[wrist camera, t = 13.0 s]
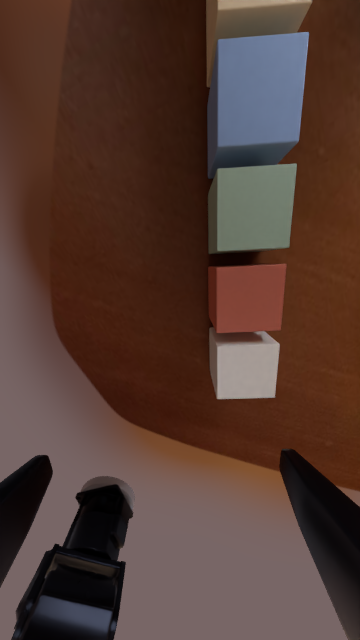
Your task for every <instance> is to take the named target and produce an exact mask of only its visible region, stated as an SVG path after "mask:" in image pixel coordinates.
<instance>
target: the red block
mask: <svg viewBox="0 0 360 640" xmlns="http://www.w3.org/2000/svg"><path fill="white" fill-rule="evenodd" d="M286 266H287V265H286V264H244V265H225V266H209V267H208V294H209V318H210V320H211V322H212V324H213V326H214V329H215V331H216V333H232V332H256V331H279V330H281V321H282V310H283V299H284V288H285V277H286Z"/></svg>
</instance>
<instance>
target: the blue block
mask: <svg viewBox="0 0 360 640" xmlns="http://www.w3.org/2000/svg"><path fill="white" fill-rule="evenodd" d="M308 38H309V32H302V33H290V34H277V35H265V36H253V37H241V38H228V39H219V40H218V41H217V47H216V53H215V60H214V66H213V72H212V79H211V85H210V92H209V98H208V105H207V137H208V178H209V179H211V178H214V177H215V174H216V171H217V169H221V168H236V167H252V166H268V165H277V164H278V163H279V161H280V160H281V159H282V158H283V157H284V156H285V155H286V154H287V153H288V152H289V151H290V150H291V149H292V148H293V147H294V146H295V145H296V144H297V143H298V141H299V134H300V123H301V113H302V102H303V91H304V81H305V70H306V60H307V49H308Z"/></svg>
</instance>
